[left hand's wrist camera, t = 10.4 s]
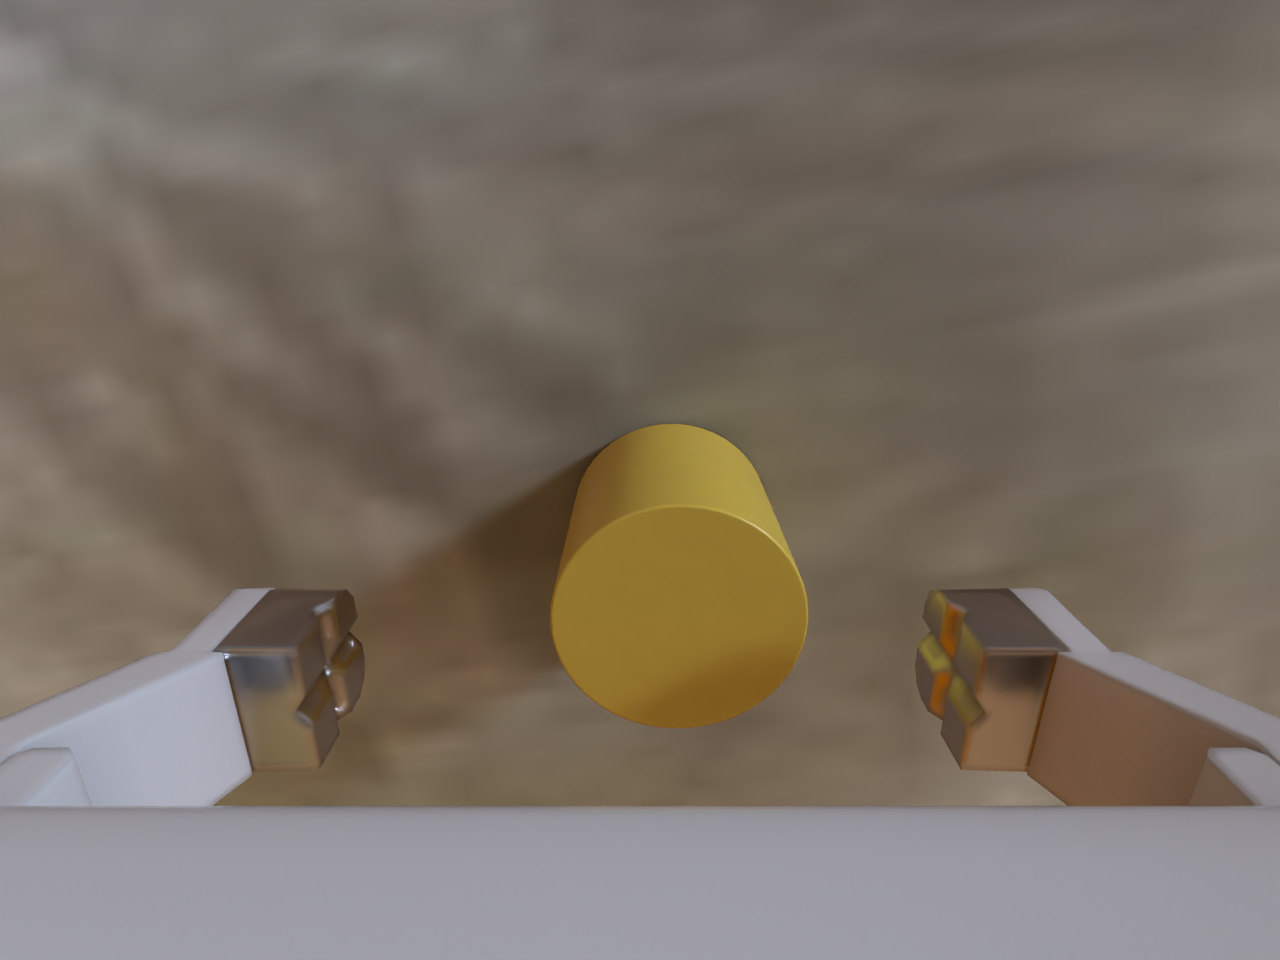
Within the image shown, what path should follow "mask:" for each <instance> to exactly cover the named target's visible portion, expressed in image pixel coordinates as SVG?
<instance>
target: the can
mask: <svg viewBox="0 0 1280 960" xmlns="http://www.w3.org/2000/svg"><path fill="white" fill-rule="evenodd" d="M550 625H551V634H552V638H553V643H554V647H555V649H556V652H557V654H558V657H559V659H560V661H561V663H562V665H563V667H564V668H565V670H566V672H567V674H568V675H569V676H570V677H571V679H572V680H573V681H574V683H575V684H576V685H577V686H578V687H579V688H580V689H581V690H582V691H583V692H584V693H585V694H586V695H587V696H588V697H589V698H591V699H592V700H593V701H594V702H596V703H597V704H598V705H600V706H602V707H603V708H605V709H607V710H608V711H610V712H612V713H614V714H616V715H618V716H620V717H623V718H625V719H628V720H631V721H634V722H637V723H640V724H645V725H650V726H655V727H664V728H691V727H699V726H706V725H710V724H714V723H718V722H721V721H724V720H727V719H730V718H733V717H735V716H737V715H739V714H741V713H743V712H745V711H747V710H749V709H751V708H752V707H754V706H755V705H757V704H758V703H760V702H761V701H763V700H764V699H765V698H766V697H767V696H769V695H770V694H771V693H772V692H773V691H774V690H775V689H776V688H777V687H778V686H779V685H780V684H781V683H782V682H783V681H784V679H785V678H786V677H787V675H788V674H789V673H790V671H791V670H792V668H793V666H794V664H795V663H796V661H797V659H798V657H799V655H800V652H801V649H802V647H803V644H804V641H805V636H806V632H807V627H808V603H807V596H806V592H805V587H804V583H803V581H802V579H801V576H800V574H799V571H798V569H797V567H796V564H795V562H794V559H793V557H792V555H791V552H790V550H789V548H788V545H787V543H786V540H785V538H784V536H783V533H782V531H781V528H780V526H779V524H778V521H777V519H776V517H775V514H774V512H773V509H772V507H771V505H770V502H769V500H768V498H767V495H766V493H765V490H764V488H763V486H762V483H761V481H760V479H759V476H758V474H757V472H756V471H755V469H754V467H753V466H752V464H751V463H750V461H749V460H748V459H747V458H746V456H745V455H744V454H743V453H742V452H741V451H740V450H739V449H738V448H737V447H735V446H734V445H733V444H731V443H730V442H729V441H727V440H726V439H724V438H723V437H721V436H719V435H717V434H715V433H713V432H710V431H708V430H705V429H702V428H698V427H694V426H690V425H682V424H660V425H654V426H648V427H645V428H641V429H638V430H635V431H633V432H630V433H628V434H626V435H624V436H622V437H620V438H619V439H617V440H615V441H614V442H612V443H611V444H610V445H608V446H607V447H606V448H605V449H603V450H602V451H601V452H600V454H599V455H598V456H597V457H596V458H595V459H594V460H593V461H592V463H591V464H590V466H589V467H588V468H587V470H586V472H585V474H584V476H583V477H582V480H581V482H580V485H579V488H578V490H577V495H576V499H575V503H574V507H573V512H572V516H571V520H570V524H569V528H568V533H567V537H566V541H565V545H564V549H563V554H562V558H561V562H560V566H559V570H558V575H557V579H556V583H555V587H554V592H553V596H552V601H551V609H550Z"/></svg>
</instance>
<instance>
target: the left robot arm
mask: <svg viewBox="0 0 1280 960" xmlns="http://www.w3.org/2000/svg"><path fill="white" fill-rule="evenodd" d="M356 619H357V612H356V607H355V602H354V598H353V596H352V595H351V594H350V593H349V591H348V590H340V589H288V588H278V589H275V588H242V589H235V590H233V591H232V592H231V593H230V594H229V595H228V596H227V597H226V598H225V599H224V600H223V601H222V602H221V603H219V604H218V605H217V606H216V607H215V608H214V609H213V610H212V611H211V612H210V613H209V614H208V615H207V616H206V617H205V618H204V619H203V620H202V621H201V622H200V623H199V624H198V625H197V626H196V627H194V628H193V629H192V630H191V631H190V632H189V633H188V634H187V635H186V636H185V637H184V638H183V639H182V640H181V641H180V642H179V643H178V644H177V645H176V646H175V647H174V648H173V649H172V650H171V651H169V652H156V653H154V654H151V655H149V656H146V657H144V658H142V659H139V660H137V661H135V662H132V663H130V664H128V665H125V666H123V667H120V668H118V669H116V670H113V671H111V672H109V673H106V674H104V675H102V676H99V677H97V678H94V679H92V680H90V681H87V682H85V683H83V684H80V685H78V686H76V687H73V688H71V689H69V690H66V691H64V692H61V693H59V694H57V695H54V696H52V697H50V698H47V699H45V700H43V701H40V702H38V703H35V704H33V705H31V706H28V707H26V708H24V709H21V710H19V711H17V712H14V713H12V714H9V715H7V716H5V717H2V718H0V960H1280V718H1277V717H1275V716H1272V715H1270V714H1268V713H1265V712H1263V711H1261V710H1258V709H1256V708H1254V707H1251V706H1249V705H1247V704H1244V703H1242V702H1240V701H1237V700H1235V699H1232V698H1230V697H1228V696H1225V695H1223V694H1221V693H1218V692H1216V691H1214V690H1211V689H1209V688H1207V687H1204V686H1202V685H1199V684H1197V683H1195V682H1192V681H1190V680H1188V679H1185V678H1183V677H1181V676H1178V675H1176V674H1174V673H1171V672H1169V671H1166V670H1164V669H1162V668H1159V667H1157V666H1155V665H1152V664H1150V663H1148V662H1145V661H1143V660H1141V659H1138V658H1136V657H1134V656H1131V655H1129V654H1126V653H1124V652H1111V651H1110V650H1108V649H1107V648H1106V647H1105V646H1104V645H1103V644H1102V643H1101V642H1100V641H1099V640H1098V639H1097V638H1096V637H1095V636H1094V635H1093V634H1092V633H1091V632H1090V631H1089V630H1088V629H1087V628H1086V627H1085V626H1084V625H1083V624H1081V623H1080V622H1079V621H1078V620H1077V619H1076V618H1075V617H1074V616H1073V615H1072V614H1071V613H1070V612H1069V611H1068V610H1067V609H1066V608H1065V607H1064V606H1063V605H1062V604H1061V603H1060V602H1059V601H1058V600H1057V599H1056V598H1054V597H1053V596H1052V595H1051V594H1050V593H1049V592H1048V591H1047V590H1044V589H1041V588H1038V587H1036V588H1012V589H1008V588H1005V589H964V590H936V591H930V593H929V595H928V597H927V599H926V601H925V606H924V611H923V619H924V621H925V622H926V624H927V625H928V627H929V628H930V630H931V631H930V633H929V634H928V635H927V636H926V637H925V638H924V639H923V640H922V641H921V642H920V643H919V644H918V648H917V655H916V663H915V668H916V679H917V686H918V689H919V693H920V696H921V699H922V701H923V703H924V704H925V706H926V708H927V710H928V711H929V712H930V713H932V714H933V715H935V716H937V717H938V718H940V719H941V720H943V724H942V729H941V735H942V737H943V739H944V741H945V742H946V744H947V746H948V748H949V749H950V751H951V753H952V755H953V756H954V758H955V760H956V762H957V763H958V765H959V767H960V769H961V770H985V771H1021V772H1028V773H1027V775H1028V776H1030V777H1031V778H1032V779H1034V780H1035V781H1036V782H1038V783H1039V784H1040V785H1042V786H1043V787H1044V788H1045V789H1047V790H1048V791H1049V792H1051V793H1052V794H1053V795H1055V796H1056V797H1057V798H1059V799H1060V800H1061V801H1062V802H1064V803H1065V804H1066V805H1068V806H213V805H214V804H215V803H216V802H218V801H219V800H220V799H222V798H223V797H224V796H226V795H227V794H228V793H230V792H231V791H232V790H234V789H235V788H236V787H237V786H239V785H240V784H241V783H243V782H244V781H245V780H247V779H248V778H249V777H251V776H252V772H258V771H294V770H319V769H320V767H321V765H322V764H323V762H324V760H325V758H326V756H327V755H328V753H329V751H330V749H331V748H332V746H333V744H334V742H335V741H336V739H337V737H338V735H339V729H338V724H337V720H339V719H340V718H342V717H343V716H345V715H347V714H348V713H350V712H351V711H352V710H353V708H354V706H355V704H356V702H357V700H358V699H359V697H360V693H361V688H362V684H363V680H364V654H363V647H362V644H361V643H360V642H359V641H358V640H357V639H356V638H355V637H354V636H353V635H352V634H351V633H350V631H349V630H350V628H351V627H352V625H353V624H354V622H355V620H356Z"/></svg>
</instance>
